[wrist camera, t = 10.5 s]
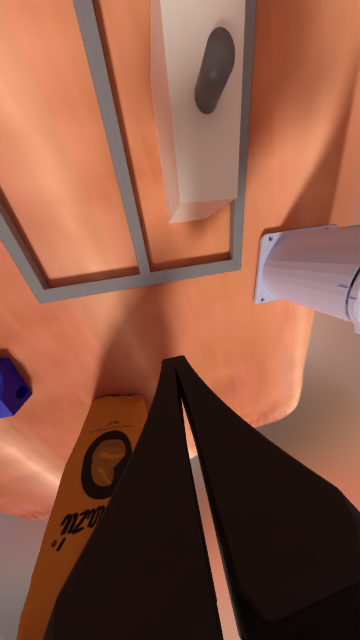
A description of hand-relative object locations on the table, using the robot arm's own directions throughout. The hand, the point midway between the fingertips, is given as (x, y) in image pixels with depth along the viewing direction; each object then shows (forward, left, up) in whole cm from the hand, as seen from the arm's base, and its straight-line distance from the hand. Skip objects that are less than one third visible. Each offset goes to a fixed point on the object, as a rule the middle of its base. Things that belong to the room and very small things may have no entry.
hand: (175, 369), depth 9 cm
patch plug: (-4, -13, -10) cm, 17 cm away
